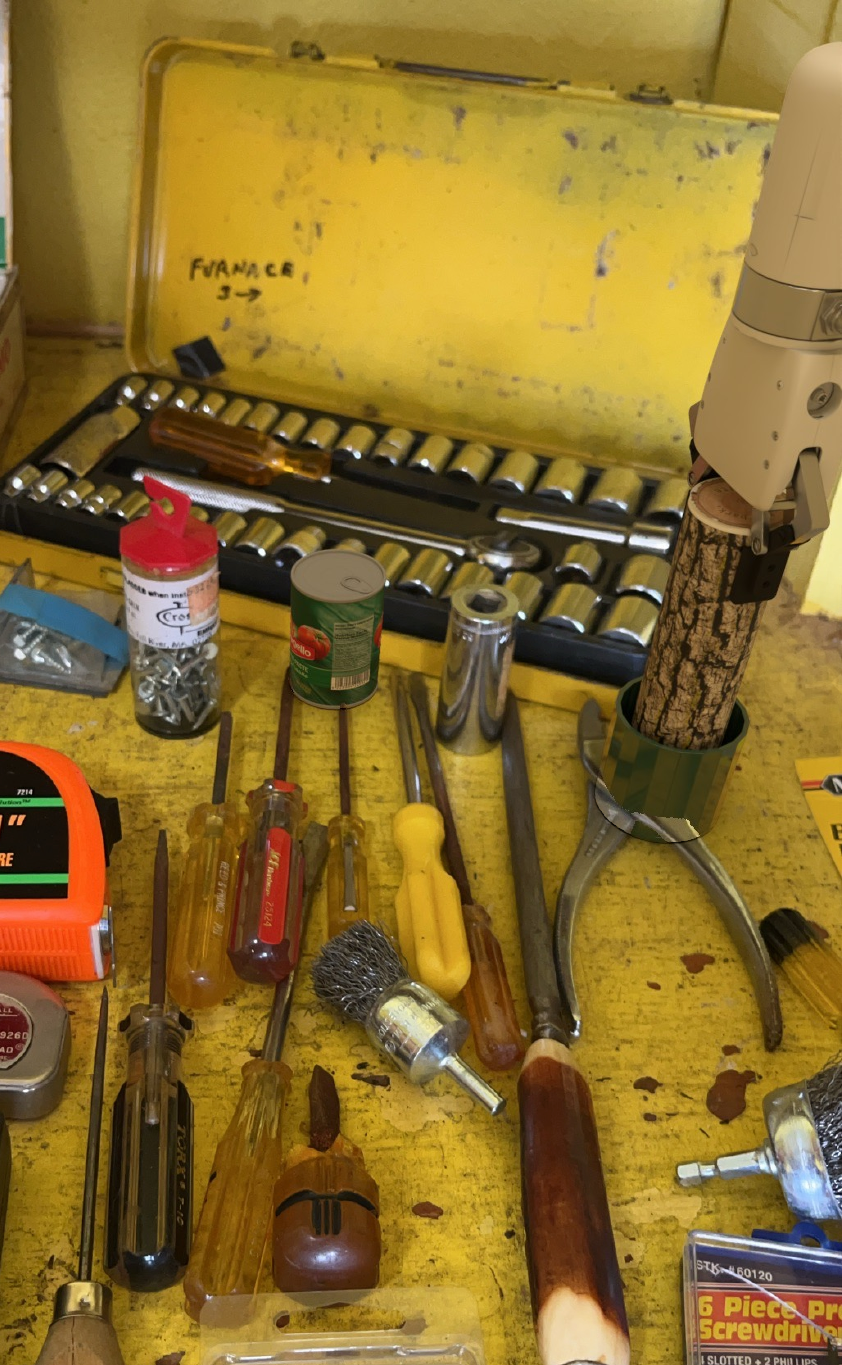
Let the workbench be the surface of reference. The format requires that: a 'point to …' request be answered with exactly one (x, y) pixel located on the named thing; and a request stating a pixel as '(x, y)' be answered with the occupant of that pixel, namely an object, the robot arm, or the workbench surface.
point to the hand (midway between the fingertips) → (724, 568)
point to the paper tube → (701, 625)
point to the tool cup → (668, 769)
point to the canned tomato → (336, 627)
